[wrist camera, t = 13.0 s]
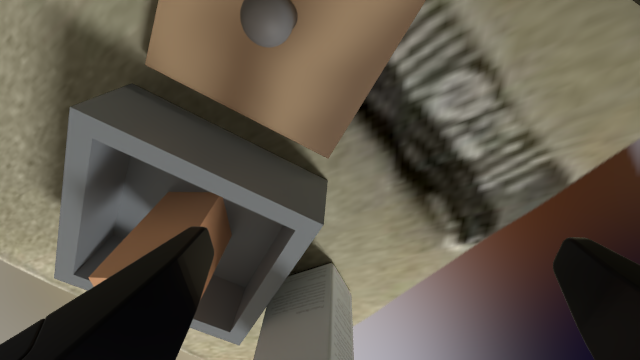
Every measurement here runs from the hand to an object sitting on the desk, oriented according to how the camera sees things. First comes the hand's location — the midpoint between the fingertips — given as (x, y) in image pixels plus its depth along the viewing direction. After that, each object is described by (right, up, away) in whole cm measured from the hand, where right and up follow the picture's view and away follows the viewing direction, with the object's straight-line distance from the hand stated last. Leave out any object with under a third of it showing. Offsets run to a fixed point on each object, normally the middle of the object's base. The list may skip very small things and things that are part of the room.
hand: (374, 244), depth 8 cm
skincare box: (-2, -8, +19) cm, 21 cm away
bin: (-10, -1, +16) cm, 19 cm away
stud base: (-3, +11, +9) cm, 14 cm away
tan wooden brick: (-10, -1, +15) cm, 18 cm away
